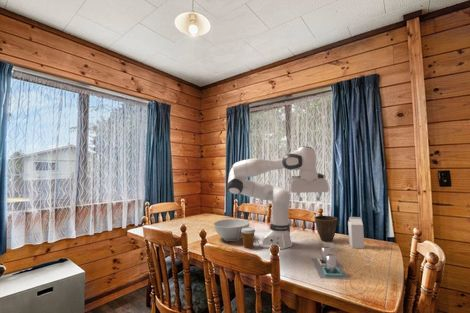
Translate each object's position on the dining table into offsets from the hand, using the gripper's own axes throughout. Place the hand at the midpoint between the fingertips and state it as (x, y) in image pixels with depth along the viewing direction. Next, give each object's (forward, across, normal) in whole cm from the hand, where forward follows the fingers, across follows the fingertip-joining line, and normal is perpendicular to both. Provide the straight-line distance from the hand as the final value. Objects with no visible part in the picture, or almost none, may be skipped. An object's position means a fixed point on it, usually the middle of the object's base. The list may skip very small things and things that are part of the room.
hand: (309, 200), depth 127 cm
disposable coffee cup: (+34, -37, +24) cm, 56 cm away
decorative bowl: (+34, -51, +40) cm, 73 cm away
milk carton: (+34, +33, +30) cm, 56 cm away
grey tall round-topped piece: (+33, +7, -2) cm, 33 cm away
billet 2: (+33, +7, -13) cm, 36 cm away
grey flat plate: (+34, +7, -8) cm, 36 cm away
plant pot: (+34, +17, +41) cm, 56 cm away
